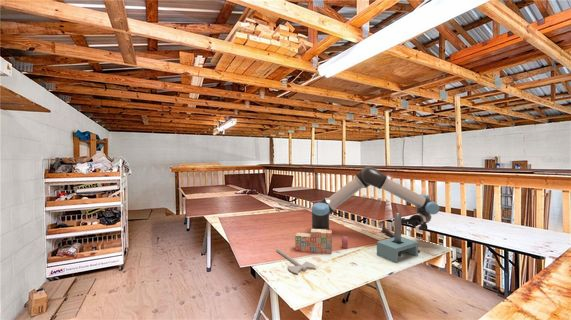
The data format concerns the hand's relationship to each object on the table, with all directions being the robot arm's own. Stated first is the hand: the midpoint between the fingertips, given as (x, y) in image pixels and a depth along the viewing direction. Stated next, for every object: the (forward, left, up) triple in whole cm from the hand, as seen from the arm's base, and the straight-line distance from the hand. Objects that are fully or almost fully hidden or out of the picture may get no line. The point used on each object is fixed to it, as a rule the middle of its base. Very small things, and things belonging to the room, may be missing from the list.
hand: (403, 226), depth 142 cm
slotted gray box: (+7, +18, -15) cm, 24 cm away
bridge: (-7, -4, -15) cm, 17 cm away
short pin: (-33, +10, -15) cm, 37 cm away
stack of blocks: (-53, +7, -15) cm, 55 cm away
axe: (-68, -6, -15) cm, 70 cm away
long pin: (-6, -4, -15) cm, 17 cm away
